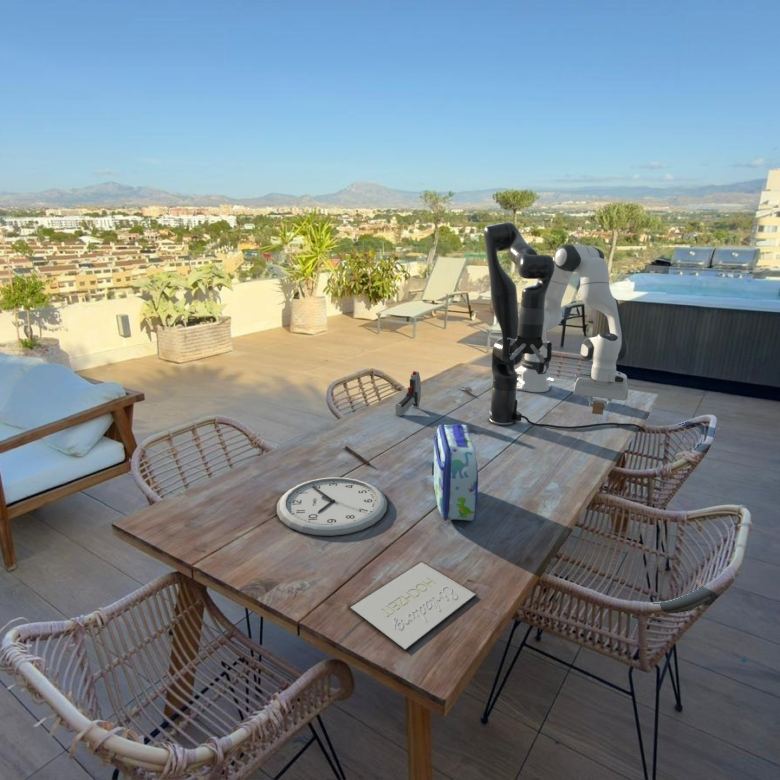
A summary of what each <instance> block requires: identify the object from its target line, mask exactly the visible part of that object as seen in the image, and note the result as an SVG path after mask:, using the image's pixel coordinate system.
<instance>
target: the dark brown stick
mask: <svg viewBox="0 0 780 780" xmlns="http://www.w3.org/2000/svg"><path fill="white" fill-rule="evenodd" d="M344 449H345V450H346V451H348V452H349V453H350V454H352V455H353V456H355V457H356V458H358V459H359V460H361V461H362V462H363V463H364V464H366V465H370V461H368V460H367V459H366V458H364V457H363V456H361V455H360V454H358V453H357V452H356V451H354V450H353V449H352V448H350V447H348V446H347V445H345V446H344Z"/></svg>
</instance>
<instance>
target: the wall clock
mask: <svg viewBox="0 0 780 780" xmlns="http://www.w3.org/2000/svg"><path fill="white" fill-rule="evenodd" d="M387 509H388V500H387V498H386V496H385V494H384V493H383V492H382V491H381V490H380V489H379V488H377V487H376V486H374V485H372V484H371V483H369V482H365V481H362V480H359V479H355V478H349V477H338V476H337V477H335V476H333V477H332V476H331V477H322V478H317V479H312V480H307V481H305V482H302V483H299V484H297V485H295V486H293V487H292V488H290V489H288V490H287V491H286V492H285V493H284V494H283V495H281V496H280V498H279V499H278V502H277V503H276V515H277V517H278V518H279V520H280V521H281V522H282V523H283V524H285V525H286V526H287V527H288V528H290V529H293V530H295V531H297V532H299V533H303V534H308V535H312V536H327V537H328V536H329V537H331V536H332V537H333V536H342V535H350V534H352V533H356V532H361V531H363V530H366V529H368V528H369V527H372V526H373V525H375V524H376V523H378V522H379V521H380V520H381V519H382V518H383V517H384V516H385V514H386V512H387Z"/></svg>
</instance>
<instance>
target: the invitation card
mask: <svg viewBox="0 0 780 780" xmlns="http://www.w3.org/2000/svg"><path fill="white" fill-rule="evenodd" d="M475 596H476V593H474V591H471V590H469V589H468V588H466V587H464V586H463V585H461V584H459V583H458V582H456V581H454V580H453V579H451V578H449V577H448V576H446V575H444V574H442V573H441V572H439V571H438V570H436V569H434V568H432V567H430V566H429V565H427V564H426V563H424V562H419V563H417V564H416V565H414V566H413V567H412V568H410V569H408V570H407V571H405V572H404V573H402V574H400V575H399V576H397V577H396V578H394V579H392V580H391V581H390V582H388V583H386V584H385V585H383V586H382V587H380V588H378V589H377V590H375V591H373V592H372V593H370V594H369V595H367V596H366V597H364V598H363V599H361V600H359V601H358V602H356V603H355V604H354V605H352V606H350V609H351V610H352V611H353V612H355V613H356V614H357V615H358V616H360V617H361V618H363V619H364V620H365V621H367V622H368V623H369V624H371V625H372V626H373V627H374V628H376V629H377V630H379V631H380V632H381V633H382V634H383V635H385V636H386V637H388V638H389V639H390V640H391V641H393V642H394V643H395V644H397V645H398V646H399V647H401V648H402V649H403V650H405V651H406V650H407V649H408V648H409V647H412V645H413V644H415V643H416V642H418V640H420V639H421V638H422V637H424V636H425V635H427V633H429V632H430V631H431V630H432V629H434V628H435V627H436V626H438V625H439V624H440V623H442V622H443V621H444V620H446V618H448V617H449V616H450V615H452V614H453V613H454V612H456V611H457V610H458V609H459V608H461V607H462V606H463V605H465V604H466V603H467V602H468V601H470V600H471V599H472V598H473V597H475Z"/></svg>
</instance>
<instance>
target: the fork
mask: <svg viewBox="0 0 780 780" xmlns="http://www.w3.org/2000/svg"><path fill="white" fill-rule="evenodd" d="M457 386H458V389H459V390H463V391H465V393H467V394H469V395H470V396H471V397H474V394H473V393H472V392H470V391H469V390H467V389H466V388H465V386H464V384H463V383H458V384H457Z"/></svg>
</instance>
